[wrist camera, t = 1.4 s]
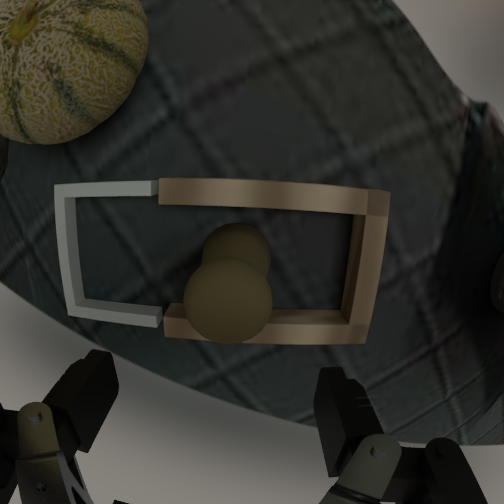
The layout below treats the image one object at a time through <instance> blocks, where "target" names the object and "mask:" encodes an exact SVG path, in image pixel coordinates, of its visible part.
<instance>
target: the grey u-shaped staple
mask: <svg viewBox="0 0 504 504" xmlns="http://www.w3.org/2000/svg"><path fill="white" fill-rule="evenodd" d="M156 194H158V180H135V181H101V182H80V183H65V184H58V185H54V196H55V218H56V232H57V243H58V253H59V261H60V269H61V276H62V282H63V289H64V295H65V300H66V305H67V311H68V315H70V316H76V317H82V318H88V319H94V320H101V321H108V322H115V323H122V324H130V325H138V326H146V327H155V328H157V327H158V325H159V324H160V322H161V320H162V318H163V314H162V307H159V306H148V305H138V304H129V303H120V302H111V301H103V300H95V299H87V298H85V297H84V291H83V284H82V276H81V268H80V260H79V250H78V238H77V224H76V202H75V197H97V196H153V195H156Z"/></svg>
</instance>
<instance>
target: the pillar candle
mask: <svg viewBox="0 0 504 504" xmlns="http://www.w3.org/2000/svg"><path fill="white" fill-rule="evenodd" d="M7 155H8V138H6V137H3V136H2V135H1V134H0V180H1V177H2V175H3V172H4V170H5V167H6V162H7Z"/></svg>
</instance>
